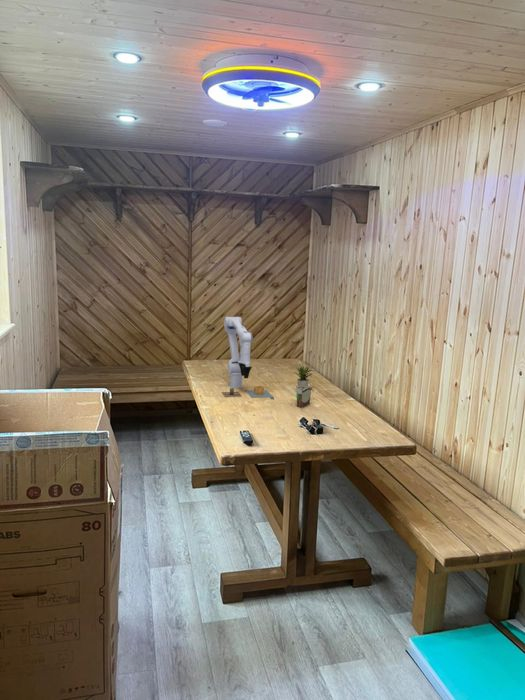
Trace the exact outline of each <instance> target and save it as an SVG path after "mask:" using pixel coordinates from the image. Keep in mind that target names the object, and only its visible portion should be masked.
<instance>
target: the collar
mask: <svg viewBox="0 0 525 700" xmlns="http://www.w3.org/2000/svg"><path fill="white" fill-rule="evenodd" d="M253 390H254V394H255V395H263V394H264V390H265V386H263V385H255V386H253Z"/></svg>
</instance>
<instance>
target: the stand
mask: <svg viewBox="0 0 525 700" xmlns="http://www.w3.org/2000/svg"><path fill="white" fill-rule="evenodd" d="M221 394H222V395H223V397H224V398H243V396H242V394H241V393H240V392H239V391H235V388H232V387H230V388H229V391H223V392H222V391H221Z"/></svg>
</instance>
